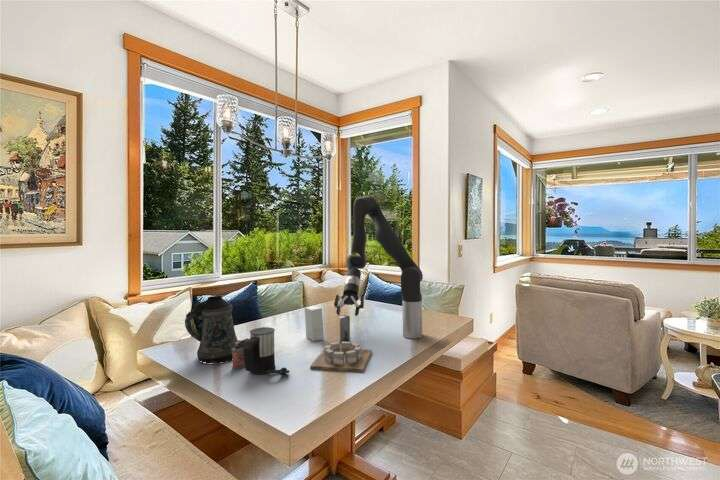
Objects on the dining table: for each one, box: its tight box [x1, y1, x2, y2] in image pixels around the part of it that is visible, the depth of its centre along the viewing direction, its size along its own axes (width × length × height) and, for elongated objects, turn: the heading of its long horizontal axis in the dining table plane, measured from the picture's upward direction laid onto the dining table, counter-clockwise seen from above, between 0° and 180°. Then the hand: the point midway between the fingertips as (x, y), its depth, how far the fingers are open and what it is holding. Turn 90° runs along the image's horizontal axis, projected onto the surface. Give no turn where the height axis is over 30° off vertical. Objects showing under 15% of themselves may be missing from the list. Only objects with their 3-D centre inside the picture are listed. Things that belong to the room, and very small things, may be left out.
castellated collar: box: [309, 341, 373, 373], centre depth 134 cm, size 20×20×5 cm
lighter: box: [231, 337, 249, 371], centre depth 130 cm, size 8×3×10 cm, turn 148°
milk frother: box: [244, 326, 290, 376], centre depth 124 cm, size 14×16×15 cm
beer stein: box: [184, 295, 238, 364], centre depth 139 cm, size 16×19×25 cm
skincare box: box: [304, 305, 325, 342], centre depth 163 cm, size 8×6×15 cm
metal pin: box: [339, 314, 351, 344], centre depth 156 cm, size 5×5×12 cm
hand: (347, 314), depth 161 cm, fingers open, 8 cm apart
